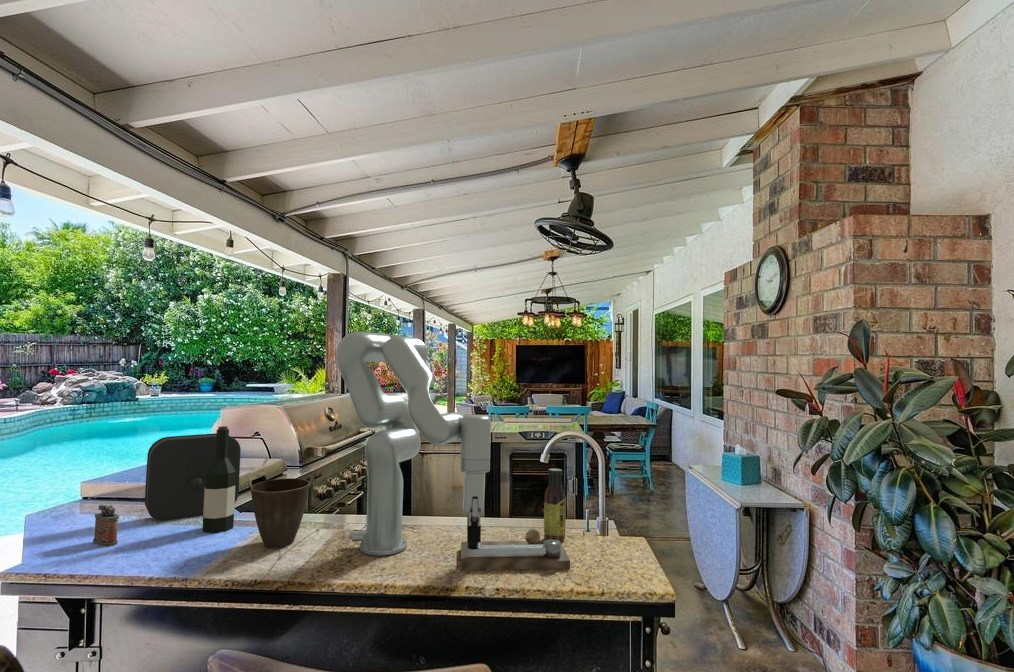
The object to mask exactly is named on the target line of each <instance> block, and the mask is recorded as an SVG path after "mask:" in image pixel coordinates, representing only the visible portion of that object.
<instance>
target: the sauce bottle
mask: <svg viewBox="0 0 1014 672" xmlns="http://www.w3.org/2000/svg"><path fill="white" fill-rule="evenodd" d="M562 476H563V469H560V468H558V467H557V468H553V467H552V468H549V469H548V486H547V487H546V489H545V492H544V502H543V504H544V505H543V507H544V508H543V534H544V535H543V537H544V539H545V540H549V539H553V540H558V541H560V542H563V541H564V540H565V539H566V510H567V509H566V507H567V506H566V505H567V504H566V501H567V500H566V499H567V497H566V495H565V490H564V488H563V483H562Z"/></svg>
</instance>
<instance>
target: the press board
mask: <svg viewBox="0 0 1014 672" xmlns="http://www.w3.org/2000/svg"><path fill="white" fill-rule="evenodd" d="M544 541H545V540H541V534H540V532H539V531H538V530H537V529H535V528H531V529H528V530H527V532H526V533H525V540H497V541H496V540H493V541H488V540H487V541H485V540H482V541H480V545H541V544H544ZM460 542H461V543H460V571H461V572H463V571H466V572H467V571H470V570H474V571H488V570H487V569H532V570H571V559H570V558H569V556H568V554H567V552H566V551H565V549H564V547H563V545H562V544H561V556H560V557H557V558H549V557H546V556H544V555H543V554H514V555H469V549H468V548H467V541H460Z"/></svg>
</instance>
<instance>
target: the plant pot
mask: <svg viewBox="0 0 1014 672" xmlns="http://www.w3.org/2000/svg"><path fill="white" fill-rule="evenodd" d="M310 486H311V482H310V481H309V480H307V479H303V478H294V477H292V478H291V477H290V478H289V477H288V478H278V479H277V478H275V479H268V480H264V481H260V482H256V483H254V484H253V485H252V486H250V495H251V502H252V508H253V513H254V518H255V522H256V524H257V525H256V526H257V529H258V532H259V534H260V535H259V536H260V538H261V541H262V543H263V545H264V548H265V547H266V548H268V549H278V548H280V549H281V548H285V547H288V546H291V545H292V544H293V543H294V541H295V538H296V537H297V534H298V531H299V530H300V526H301V524H302V520H303V517H304V513H305V510H306V506H307V501H308V496H309V493H310Z"/></svg>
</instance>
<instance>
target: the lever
mask: <svg viewBox="0 0 1014 672" xmlns="http://www.w3.org/2000/svg"><path fill="white" fill-rule="evenodd" d="M467 516H468V515H467ZM471 517H472V515H471ZM468 525H469V516H468V524H466V534H467V535H468ZM467 535H466V536H467ZM543 541H544V544H541V545H480V542H478V543H468V542H467V541H466V542H467V548H468V549H469V555H514V554H543V555H544V556H546V557H549V558H557V557H560V556H561V545H562V541H558V540H553V539H549V540H546V539H545V540H543Z"/></svg>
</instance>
